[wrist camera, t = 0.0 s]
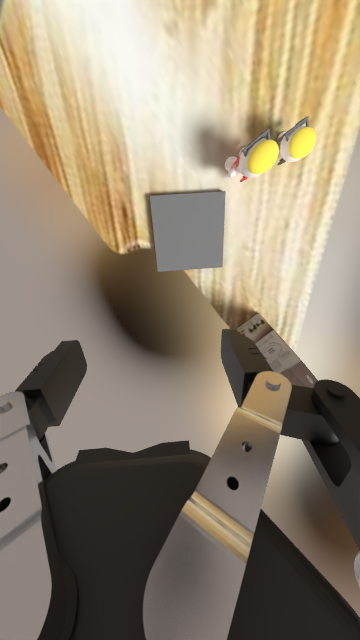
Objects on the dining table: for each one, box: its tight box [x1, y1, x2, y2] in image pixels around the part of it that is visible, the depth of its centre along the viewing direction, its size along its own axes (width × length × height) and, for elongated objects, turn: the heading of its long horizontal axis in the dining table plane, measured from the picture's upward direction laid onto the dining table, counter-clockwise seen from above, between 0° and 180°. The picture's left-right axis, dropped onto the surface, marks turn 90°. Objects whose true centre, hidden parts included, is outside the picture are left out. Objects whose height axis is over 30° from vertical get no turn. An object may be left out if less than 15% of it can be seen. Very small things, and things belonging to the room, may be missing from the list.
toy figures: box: [225, 117, 316, 182], centre depth 28 cm, size 12×4×8 cm, turn 110°
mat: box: [150, 191, 225, 271], centre depth 36 cm, size 12×12×1 cm
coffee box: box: [237, 313, 318, 388], centre depth 40 cm, size 9×6×16 cm
